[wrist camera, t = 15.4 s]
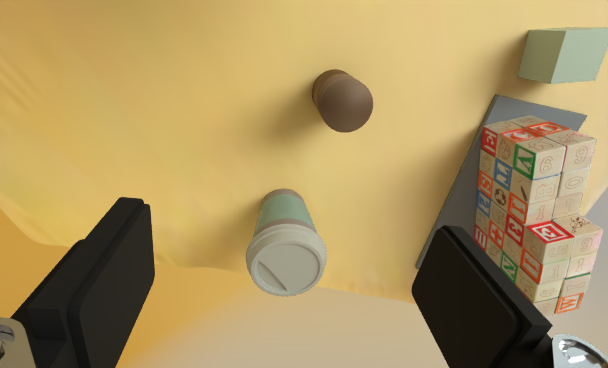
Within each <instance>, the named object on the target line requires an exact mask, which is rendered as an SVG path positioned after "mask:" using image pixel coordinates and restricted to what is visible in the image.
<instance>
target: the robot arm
mask: <svg viewBox="0 0 608 368" xmlns="http://www.w3.org/2000/svg"><path fill="white" fill-rule="evenodd" d="M154 276H155V268H154V254H153V240H152V225H151V211H150V205H149V204H144V201H143V200H142V199H138V198H126V197H120V198H119V199H118V200H117V201H116V203H115V204H114V205H113V206H112V207H111V208H110V210H109V211H108V212H107V213H106V214H105V216H104V217H103V218H102V219H101V220H100V221H99V223H98V224H97V225H96V226H95V227H94V228H93V230H92V231H91V232H90V233H89V234H88V236H87V237H86V238H85V239H82V240H79V241H78V242H76V243H75V244H74V245H73V246H72V248H71V249H70V250H69V251H68V252H67V253H66V255H65V256H64V257H63V258H62V259H61V260H60V261H59V263H58V264H57V265H56V266H55V267H54V269H52V271H51V272H50V273H49V274H48V275H47V276H46V277H45V279H44V280H43V281H42V282H41V283H40V284H39V285H38V287H37V288H36V289H35V290H34V291H33V292H32V294H31V295H30V296H29V297H28V298H27V299H26V300H25V302H24V303H23V304H22V305H21V306H20V307H19V308H18V310H17V311H16V312H15V313H14V314H13V315H12V316H11V318H0V368H115V367H116V365H117V363H118V360H119V358H120V356H121V354H122V351H123V349H124V347H125V345H126V342H127V340H128V338H129V336H130V333H131V331H132V329H133V327H134V325H135V322H136V320H137V318H138V316H139V313H140V311H141V309H142V307H143V304H144V302H145V300H146V298H147V295H148V293H149V291H150V289H151V286H152V284H153V281H154ZM412 295H413V298H414V300H415V302H416V304H417V305H418V307H419V309H420V311H421V313H422V315H423V317H424V319H425V321H426V323H427V325H428V327H429V329H430V331H431V333H432V335H433V337H434V339H435V341H436V343H437V344H438V346H439V348H440V350H441V352H442V354H443V356H444V358H445V360H446V362H447V364H448V366H449V368H608V358H607V357H606V356H605V355H604V354H603V353H602V352H601V351H599V350H598V349H597V348H595V347H594V346H593V345H591V344H589V343H587V342H586V341H584V340H582V339H580V338H577V337H575V336H572V335H568V334H557V335H555V336H554V337H553V338H552V339H551V338H550V337H549V336H548V334H547V332H548V331H549V330H550V328H551V327H552V324H551V323H550V322H549V321H548V320H547V319H546V318H545V317H544V316H543V314H542V313H541V312H540V311H539V310H538V309H537V308H536V307H535V306H534V305H533V304H532V302H531V301H530V300H529V299H528V298H527V297H526V296H525V295H524V294H523V293H522V292H521V291H520V289H519V288H518V287H517V286H516V285H515V284H514V283H513V282H512V281H511V280H510V279H509V277H508V276H507V275H506V274H505V273H504V272H503V271H502V270H501V269H500V268H499V267H498V266H497V264H496V263H495V262H494V261H493V260H492V259H491V258H490V257H489V256H488V255H487V254H486V252H485V251H484V250H483V249H482V248H481V247H480V246H479V245H478V244H477V243H476V242H475V241H474V239H473V238H472V237H471V236H470V235H469V234H468V233H467V232H466V231H465V230H464V229H463V228H462V227H460V226H450V225H443V226H442V227H441V228H440V229H437V230H436V232H435V234H434V236H433V238H432V241H431V243H430V245H429V248H428V250H427V252H426V255H425V257H424V259H423V262H422V264H421V266H420V269H419V271H418V273H417V276H416V278H415V280H414V283H413V285H412Z"/></svg>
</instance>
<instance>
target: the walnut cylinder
mask: <svg viewBox="0 0 608 368" xmlns="http://www.w3.org/2000/svg"><path fill="white" fill-rule="evenodd" d="M312 98H313V101H314V103H315V105H316V107H317V109H318V110H319V112H320V114H321V116H322V118H323V119H324V121H325V123H326V124H327V125H328V126H329V127H330V128H331V129H333V130H335V131H338V132H352V131H355V130H357V129H359V128H360V127H362V126H363V125H364V124H365V123H366V122H367V120H368V119H369V117H370V115H371V113H372V109H373V98H372V95H371V93H370V91H369V89H368V88H367V87H366V86H365V85H364V84H363V83H361V82H359V81H358V80H356V79H355V78H353V77H352V76H350V75H349V74H347V73H345V72H344V71H341V70H329V71H326V72H324V73H322V74H321V75H320V76H319V77H318V78H317V80H316V81H315V83H314V85H313V89H312Z"/></svg>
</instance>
